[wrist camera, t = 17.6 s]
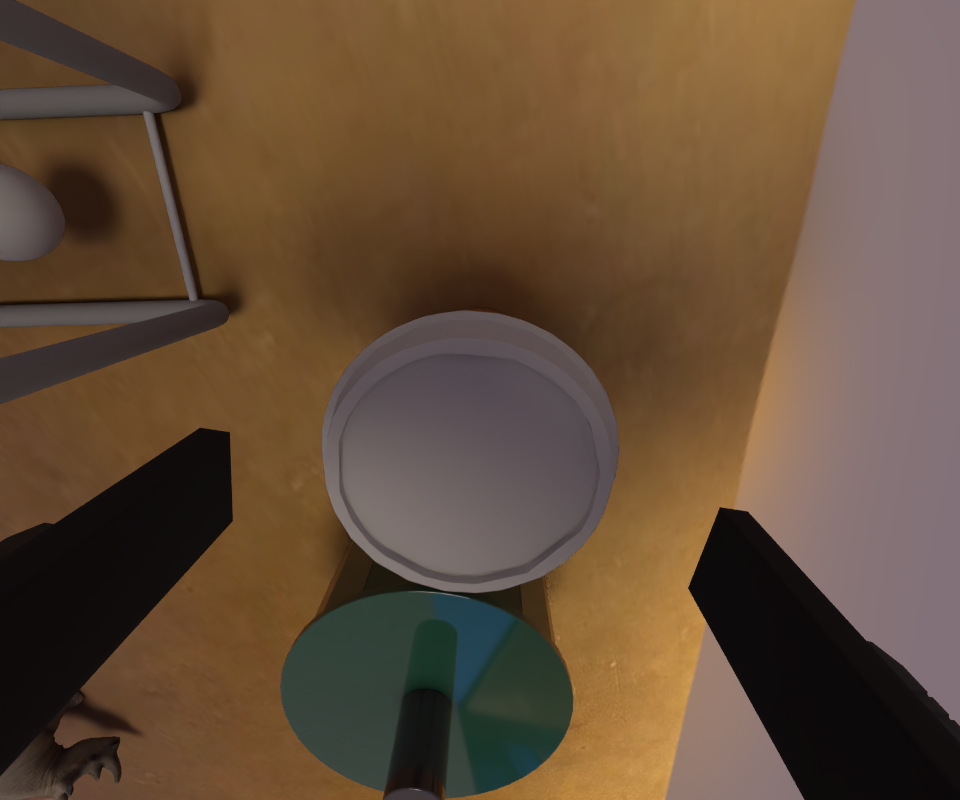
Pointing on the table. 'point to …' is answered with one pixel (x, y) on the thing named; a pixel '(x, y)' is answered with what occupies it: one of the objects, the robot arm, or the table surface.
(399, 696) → the pot lid
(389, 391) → the disposable coffee cup
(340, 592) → the pot
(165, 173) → the newton's cradle
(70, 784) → the rhino figurine
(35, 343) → the table surface
